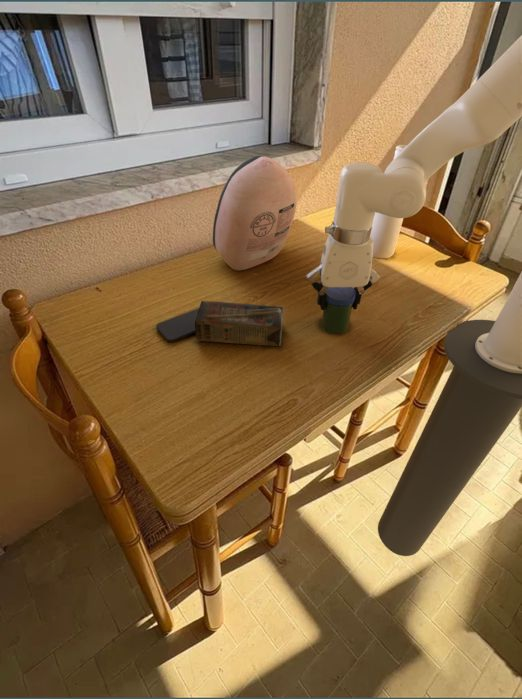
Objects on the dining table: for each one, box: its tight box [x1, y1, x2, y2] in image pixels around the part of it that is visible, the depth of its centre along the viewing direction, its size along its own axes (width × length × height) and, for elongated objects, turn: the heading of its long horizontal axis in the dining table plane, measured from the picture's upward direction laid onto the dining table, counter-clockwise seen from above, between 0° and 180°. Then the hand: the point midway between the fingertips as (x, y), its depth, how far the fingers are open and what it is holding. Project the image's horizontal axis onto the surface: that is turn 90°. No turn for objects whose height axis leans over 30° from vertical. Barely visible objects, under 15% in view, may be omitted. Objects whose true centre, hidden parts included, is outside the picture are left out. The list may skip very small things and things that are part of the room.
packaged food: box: [212, 155, 298, 272], centre depth 103 cm, size 22×20×30 cm
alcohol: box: [370, 144, 408, 259], centre depth 109 cm, size 9×9×30 cm
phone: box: [156, 308, 199, 343], centre depth 90 cm, size 7×1×15 cm
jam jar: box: [320, 301, 353, 335], centre depth 88 cm, size 6×6×9 cm
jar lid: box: [325, 287, 356, 306], centre depth 85 cm, size 7×7×2 cm
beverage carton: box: [195, 300, 284, 347], centre depth 85 cm, size 8×19×7 cm, turn 86°
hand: (337, 305), depth 87 cm, fingers closed on jar lid, 6 cm apart
